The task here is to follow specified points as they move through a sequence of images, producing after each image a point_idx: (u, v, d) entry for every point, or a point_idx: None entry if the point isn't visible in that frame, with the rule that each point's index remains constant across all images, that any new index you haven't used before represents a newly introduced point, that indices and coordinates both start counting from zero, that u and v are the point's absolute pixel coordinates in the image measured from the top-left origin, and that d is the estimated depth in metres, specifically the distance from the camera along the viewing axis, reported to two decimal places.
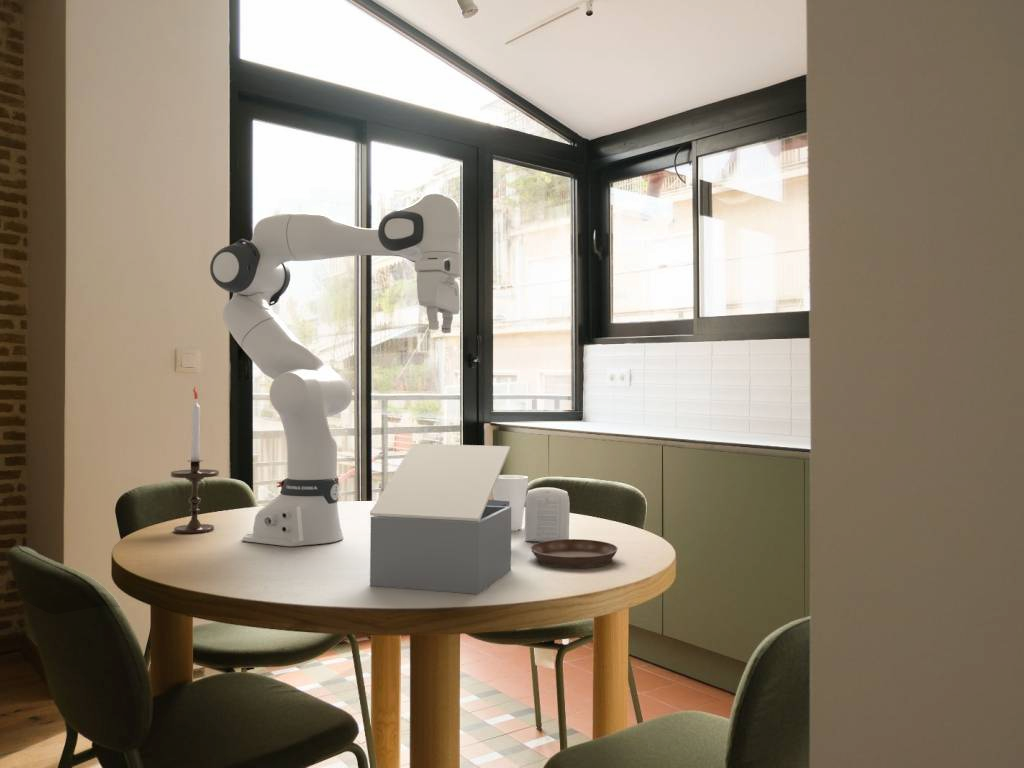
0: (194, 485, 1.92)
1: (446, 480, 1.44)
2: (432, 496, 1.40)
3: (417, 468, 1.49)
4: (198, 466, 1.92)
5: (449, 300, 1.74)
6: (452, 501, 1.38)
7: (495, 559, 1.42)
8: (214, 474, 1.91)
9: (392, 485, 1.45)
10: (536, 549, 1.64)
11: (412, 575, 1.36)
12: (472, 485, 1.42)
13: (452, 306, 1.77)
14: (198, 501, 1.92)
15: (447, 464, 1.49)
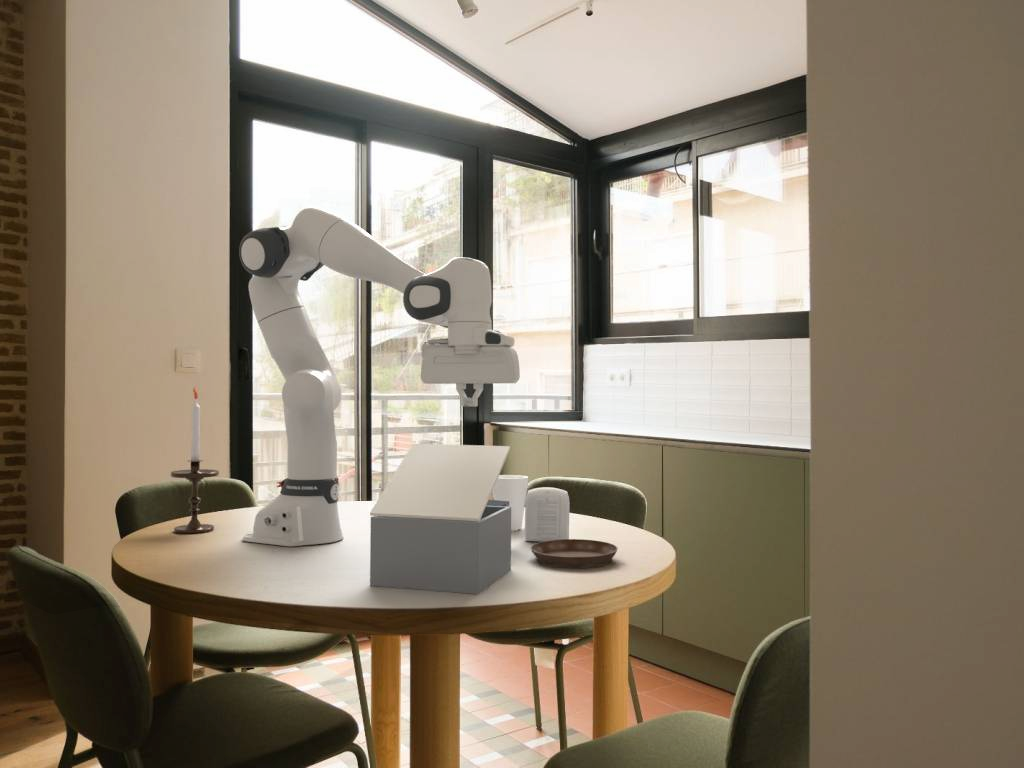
0: (194, 485, 1.92)
1: (446, 480, 1.44)
2: (432, 496, 1.40)
3: (417, 468, 1.49)
4: (198, 466, 1.92)
5: None
6: (452, 501, 1.38)
7: (495, 559, 1.42)
8: (214, 474, 1.91)
9: (392, 485, 1.45)
10: (536, 549, 1.64)
11: (412, 575, 1.36)
12: (472, 485, 1.42)
13: None
14: (198, 501, 1.92)
15: (447, 464, 1.49)
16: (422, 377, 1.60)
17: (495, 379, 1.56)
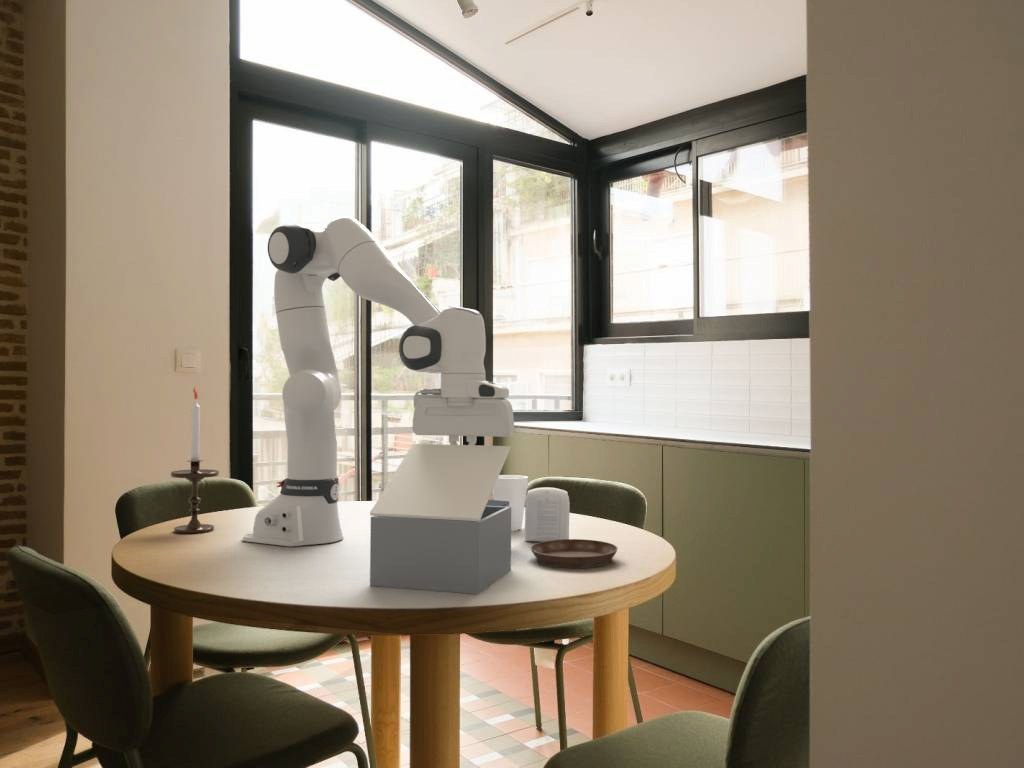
0: (194, 485, 1.92)
1: (446, 480, 1.44)
2: (432, 496, 1.40)
3: (417, 468, 1.49)
4: (198, 466, 1.92)
5: None
6: (452, 501, 1.38)
7: (495, 559, 1.42)
8: (214, 474, 1.91)
9: (392, 485, 1.45)
10: (535, 549, 1.64)
11: (412, 575, 1.36)
12: (472, 485, 1.42)
13: None
14: (198, 501, 1.92)
15: (447, 464, 1.49)
16: (414, 428, 1.56)
17: (489, 432, 1.52)
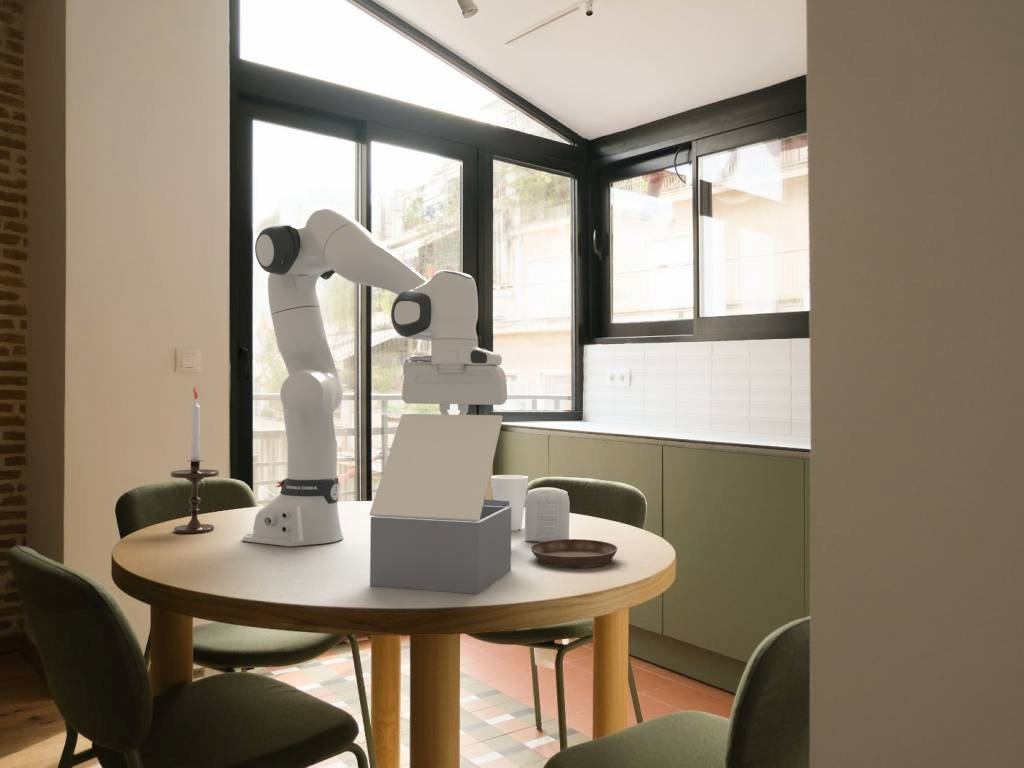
0: (194, 485, 1.92)
1: (441, 466, 1.41)
2: (429, 490, 1.39)
3: (410, 450, 1.45)
4: (198, 466, 1.92)
5: None
6: (450, 496, 1.37)
7: (495, 559, 1.42)
8: (214, 474, 1.91)
9: (387, 474, 1.43)
10: (535, 549, 1.64)
11: (412, 575, 1.36)
12: (468, 473, 1.39)
13: None
14: (198, 501, 1.92)
15: (440, 444, 1.45)
16: (403, 397, 1.51)
17: (481, 400, 1.47)
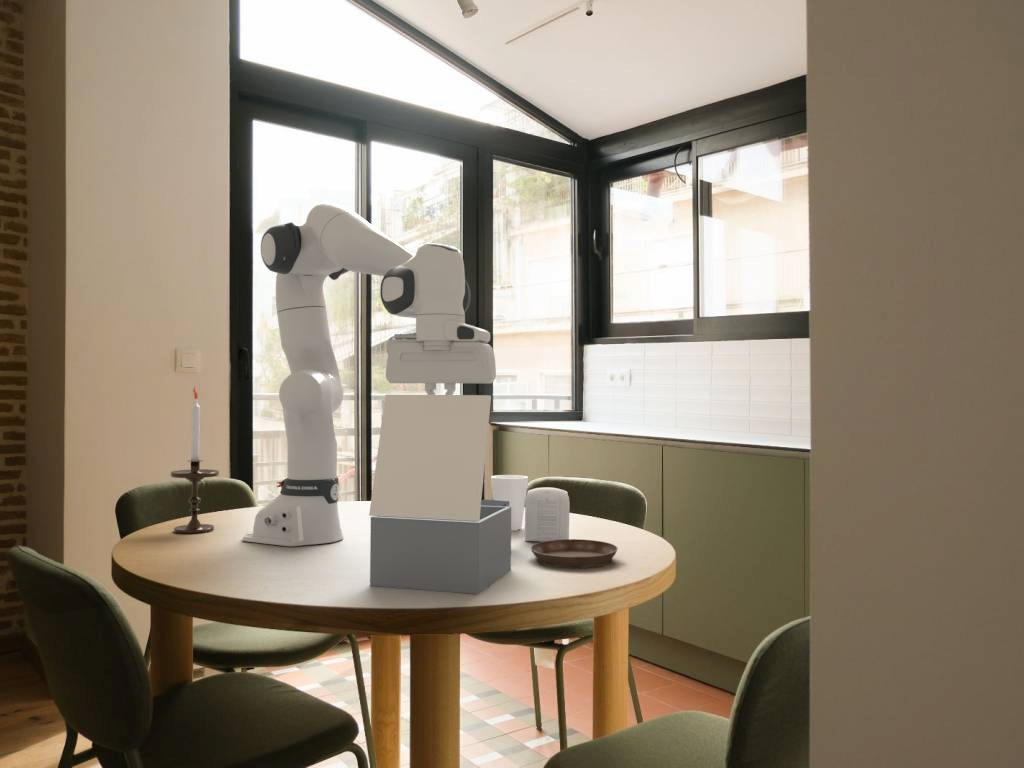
0: (194, 485, 1.92)
1: (434, 459, 1.38)
2: (425, 487, 1.37)
3: (400, 439, 1.41)
4: (198, 466, 1.92)
5: None
6: (447, 494, 1.35)
7: (495, 559, 1.42)
8: (214, 474, 1.91)
9: (380, 469, 1.40)
10: (535, 549, 1.64)
11: (412, 575, 1.36)
12: (462, 467, 1.36)
13: None
14: (198, 501, 1.92)
15: (429, 432, 1.40)
16: (387, 376, 1.44)
17: (468, 378, 1.40)
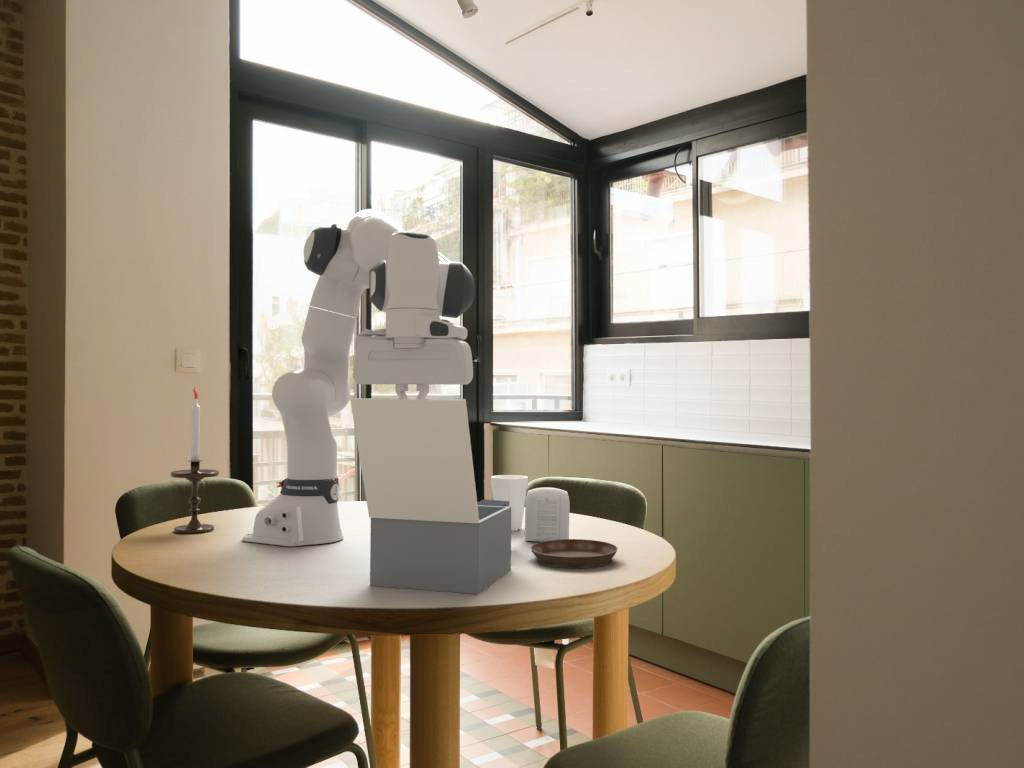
0: (194, 485, 1.92)
1: (420, 465, 1.32)
2: (417, 492, 1.34)
3: (379, 446, 1.33)
4: (198, 466, 1.92)
5: None
6: (441, 499, 1.33)
7: (495, 559, 1.42)
8: (214, 474, 1.91)
9: (368, 475, 1.35)
10: (535, 549, 1.64)
11: (412, 575, 1.36)
12: (451, 473, 1.31)
13: None
14: (198, 501, 1.92)
15: (408, 438, 1.31)
16: (355, 376, 1.31)
17: (442, 379, 1.27)
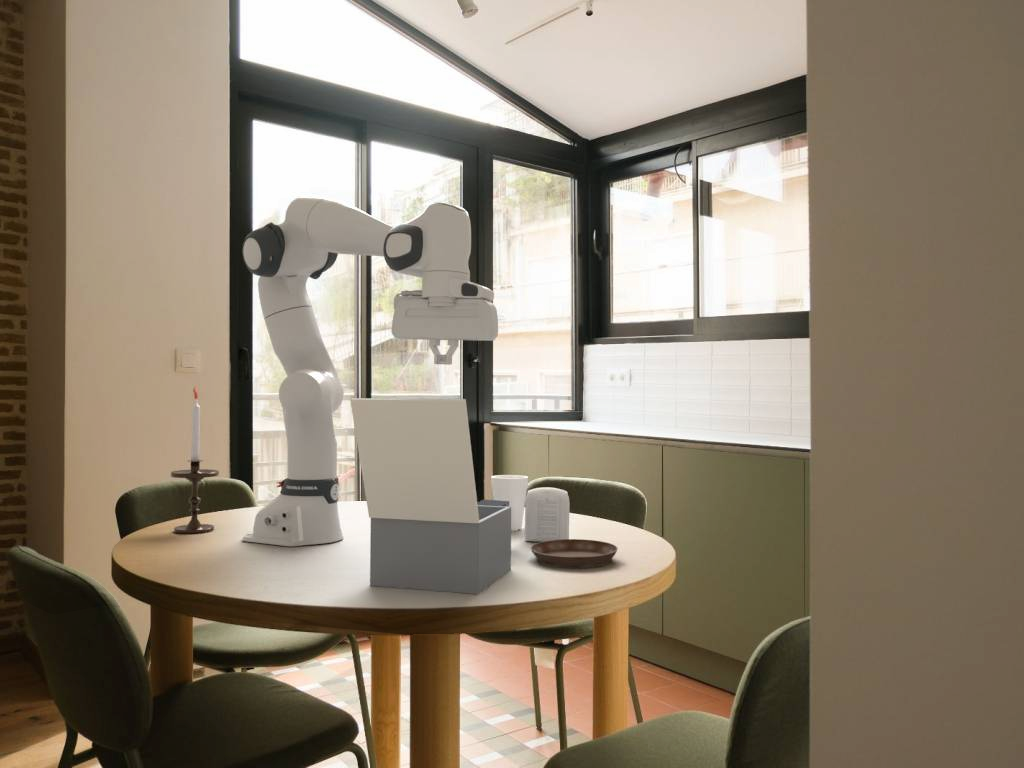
0: (194, 485, 1.92)
1: (420, 465, 1.32)
2: (417, 492, 1.34)
3: (379, 446, 1.33)
4: (198, 466, 1.92)
5: None
6: (441, 499, 1.33)
7: (495, 559, 1.42)
8: (214, 474, 1.91)
9: (368, 475, 1.35)
10: (535, 549, 1.64)
11: (412, 575, 1.36)
12: (451, 473, 1.31)
13: None
14: (198, 501, 1.92)
15: (408, 438, 1.31)
16: (393, 331, 1.48)
17: (471, 335, 1.44)
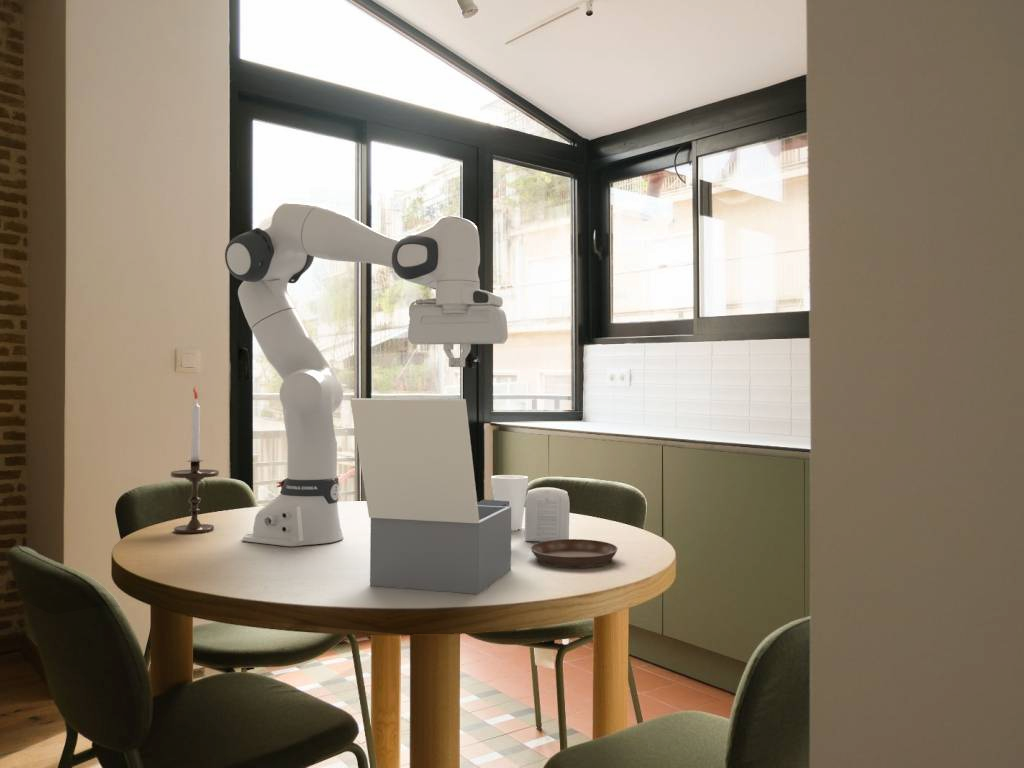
0: (194, 485, 1.92)
1: (420, 465, 1.32)
2: (417, 492, 1.34)
3: (379, 446, 1.33)
4: (198, 466, 1.92)
5: None
6: (441, 499, 1.33)
7: (495, 559, 1.42)
8: (214, 474, 1.91)
9: (368, 475, 1.35)
10: (535, 549, 1.64)
11: (412, 575, 1.36)
12: (451, 473, 1.31)
13: None
14: (198, 501, 1.92)
15: (408, 438, 1.31)
16: (409, 337, 1.59)
17: (483, 339, 1.55)
